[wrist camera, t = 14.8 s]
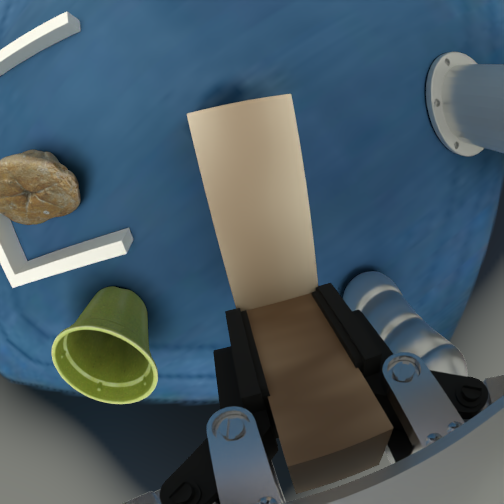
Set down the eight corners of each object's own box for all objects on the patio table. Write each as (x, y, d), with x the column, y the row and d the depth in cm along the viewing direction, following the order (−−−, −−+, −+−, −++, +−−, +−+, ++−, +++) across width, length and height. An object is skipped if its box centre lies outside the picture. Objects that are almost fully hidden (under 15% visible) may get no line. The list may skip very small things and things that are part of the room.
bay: (79, 20, 16) (67, 11, 14) (133, 239, 26) (126, 253, 23) (-29, 87, 15) (-46, 87, 13) (24, 273, 25) (12, 287, 22)
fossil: (-36, 199, 15) (25, 146, 14) (-22, 158, 17) (43, 103, 15) (31, 236, 24) (102, 205, 22) (38, 199, 25) (107, 164, 24)
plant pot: (181, 321, 30) (180, 384, 23) (118, 355, 31) (106, 414, 23) (124, 253, 26) (100, 307, 18) (62, 298, 27) (32, 352, 19)
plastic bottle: (376, 253, 31) (504, 377, 13) (390, 294, 34) (492, 411, 16) (327, 284, 32) (432, 437, 14) (346, 323, 34) (432, 457, 17)
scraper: (267, 100, 10) (442, 69, 2) (310, 383, 17) (361, 506, 9) (189, 116, 10) (157, 94, 2) (264, 396, 17) (301, 526, 9)
